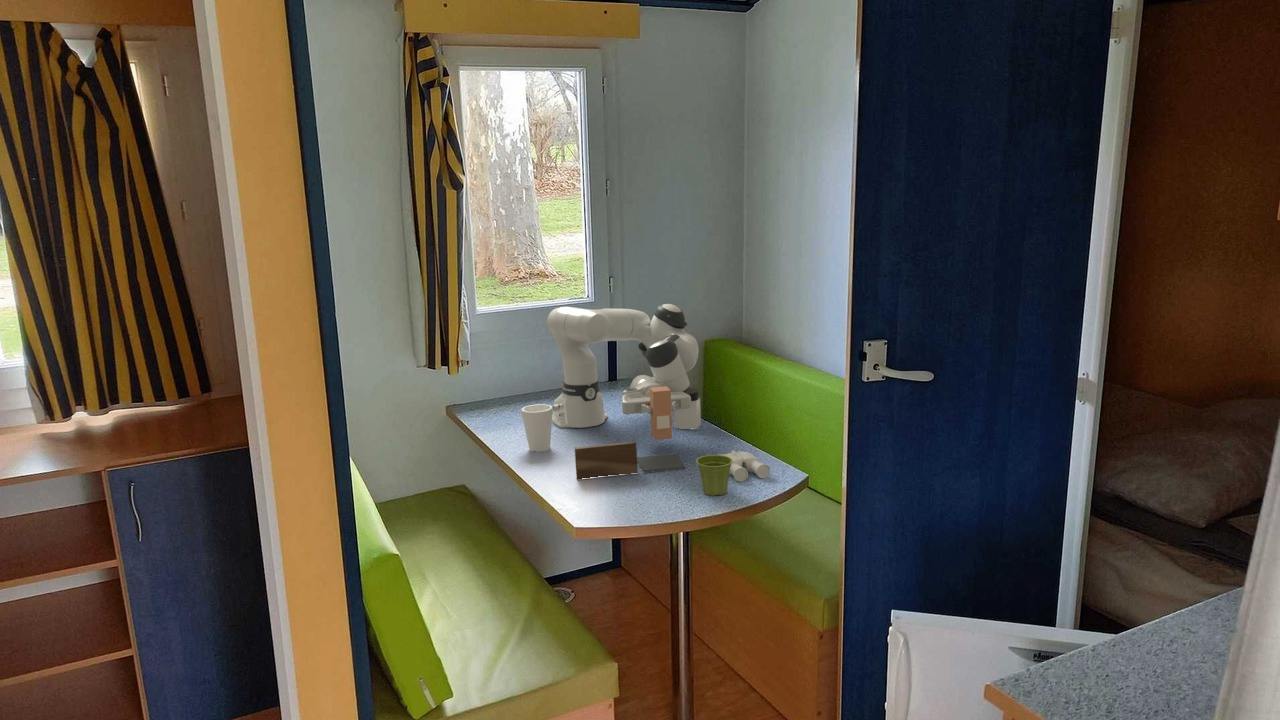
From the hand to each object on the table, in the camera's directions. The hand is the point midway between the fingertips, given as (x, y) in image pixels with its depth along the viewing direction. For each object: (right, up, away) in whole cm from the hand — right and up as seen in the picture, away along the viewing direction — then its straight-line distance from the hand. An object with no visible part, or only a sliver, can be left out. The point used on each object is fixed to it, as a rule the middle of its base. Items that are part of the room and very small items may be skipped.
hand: (661, 409), depth 252 cm
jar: (+10, -8, +40) cm, 42 cm away
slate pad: (0, -16, +4) cm, 16 cm away
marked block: (0, -8, +2) cm, 8 cm away
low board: (-15, -18, -4) cm, 24 cm away
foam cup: (-37, -14, +23) cm, 46 cm away
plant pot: (+14, -21, -19) cm, 31 cm away
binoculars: (+22, -17, -4) cm, 28 cm away
